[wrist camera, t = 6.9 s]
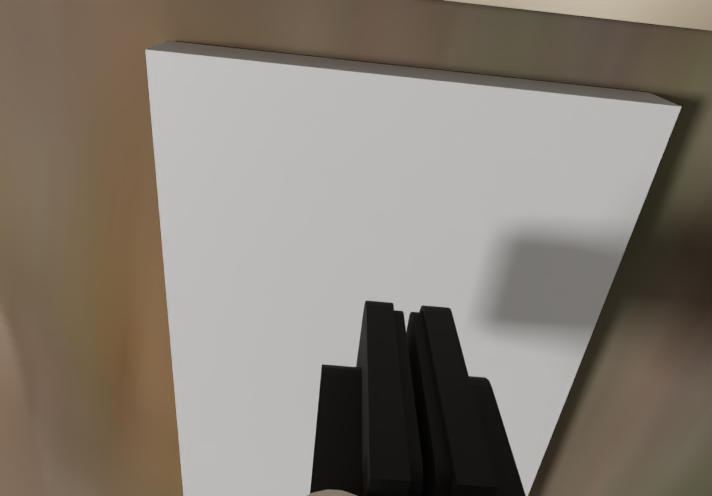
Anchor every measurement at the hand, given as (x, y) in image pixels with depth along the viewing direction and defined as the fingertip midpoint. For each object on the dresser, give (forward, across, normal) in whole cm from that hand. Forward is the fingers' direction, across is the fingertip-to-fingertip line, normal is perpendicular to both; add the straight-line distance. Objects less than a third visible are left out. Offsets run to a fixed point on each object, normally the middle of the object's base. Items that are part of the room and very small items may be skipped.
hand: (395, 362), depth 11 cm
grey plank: (+5, 0, +3) cm, 6 cm away
